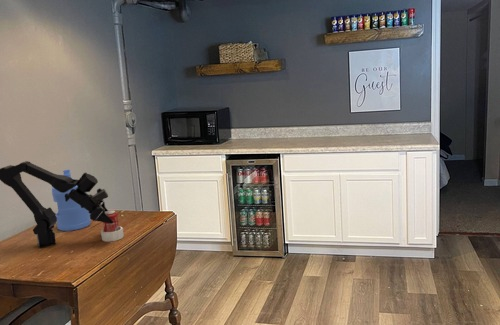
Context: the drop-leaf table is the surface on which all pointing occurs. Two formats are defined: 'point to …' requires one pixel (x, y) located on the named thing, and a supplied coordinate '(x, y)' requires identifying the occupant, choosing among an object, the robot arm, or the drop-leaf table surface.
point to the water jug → (69, 211)
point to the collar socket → (112, 235)
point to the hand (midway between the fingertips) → (112, 219)
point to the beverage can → (114, 226)
